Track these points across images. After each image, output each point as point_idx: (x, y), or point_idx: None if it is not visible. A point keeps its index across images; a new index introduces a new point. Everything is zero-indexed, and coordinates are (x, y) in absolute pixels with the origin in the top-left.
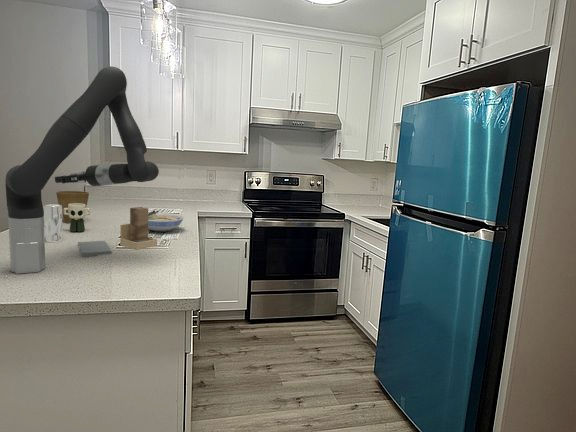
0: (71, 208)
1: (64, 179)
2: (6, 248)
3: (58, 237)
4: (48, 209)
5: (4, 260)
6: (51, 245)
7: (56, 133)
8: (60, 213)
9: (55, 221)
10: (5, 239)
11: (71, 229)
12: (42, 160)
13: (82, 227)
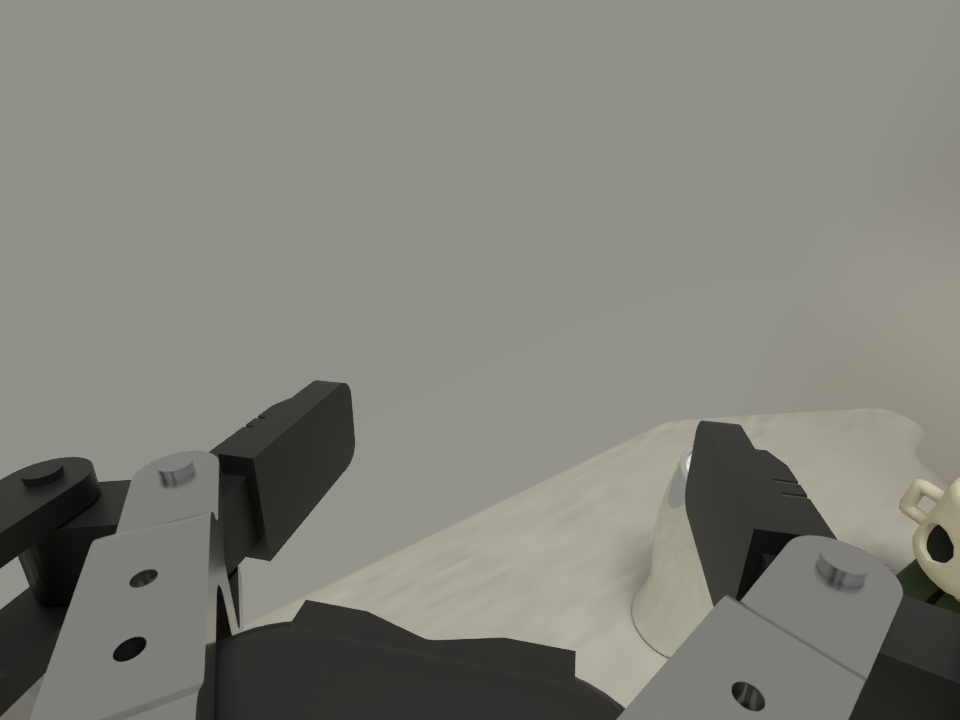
0: (948, 516)
1: (26, 566)
2: (466, 524)
3: (675, 642)
4: (678, 489)
5: (260, 618)
6: (577, 667)
7: None
8: None
9: (682, 572)
10: (590, 461)
11: None
12: None
13: None
